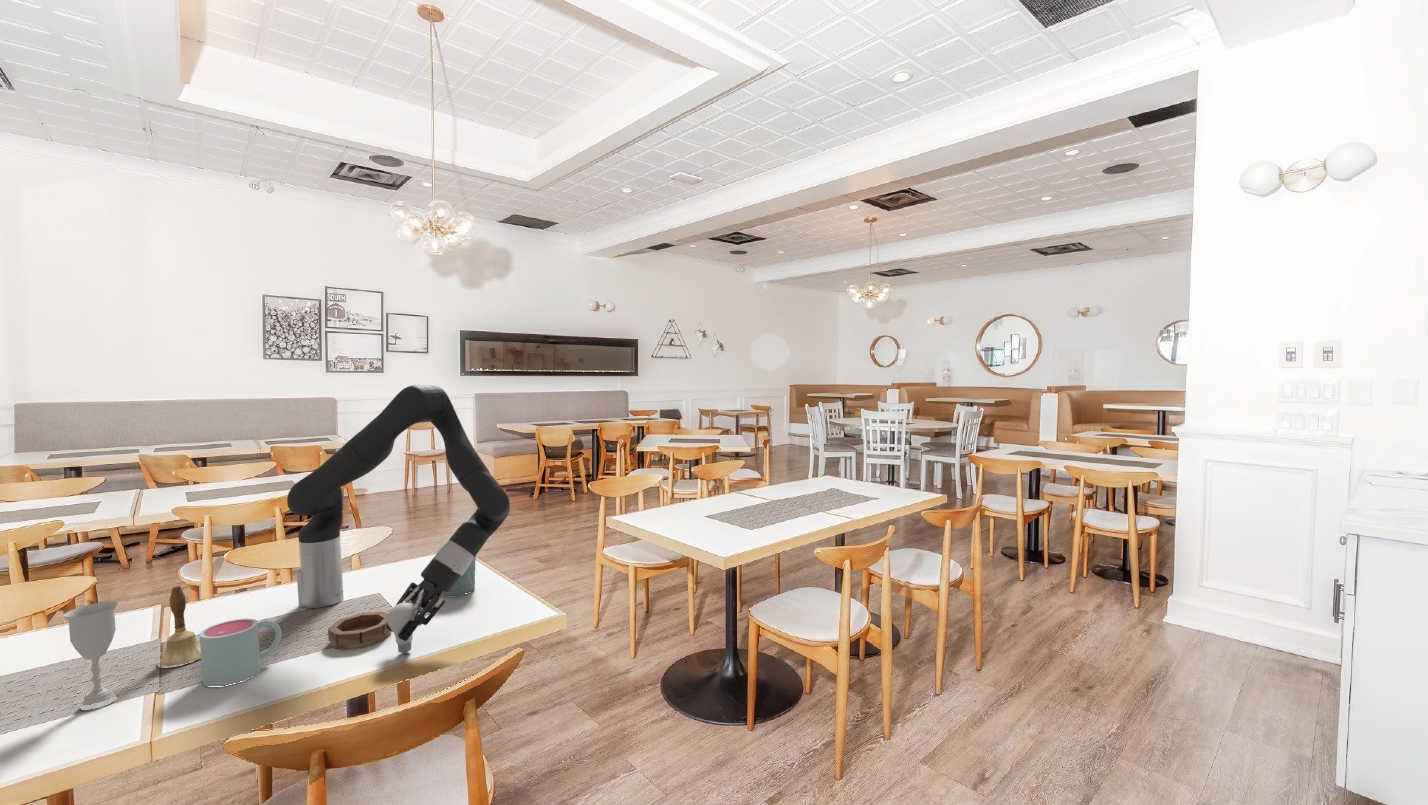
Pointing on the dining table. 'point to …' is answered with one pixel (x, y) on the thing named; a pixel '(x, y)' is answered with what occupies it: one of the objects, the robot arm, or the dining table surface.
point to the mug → (233, 650)
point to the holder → (359, 630)
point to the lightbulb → (401, 624)
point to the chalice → (93, 641)
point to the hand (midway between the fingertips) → (395, 634)
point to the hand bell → (180, 635)
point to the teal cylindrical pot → (464, 582)
